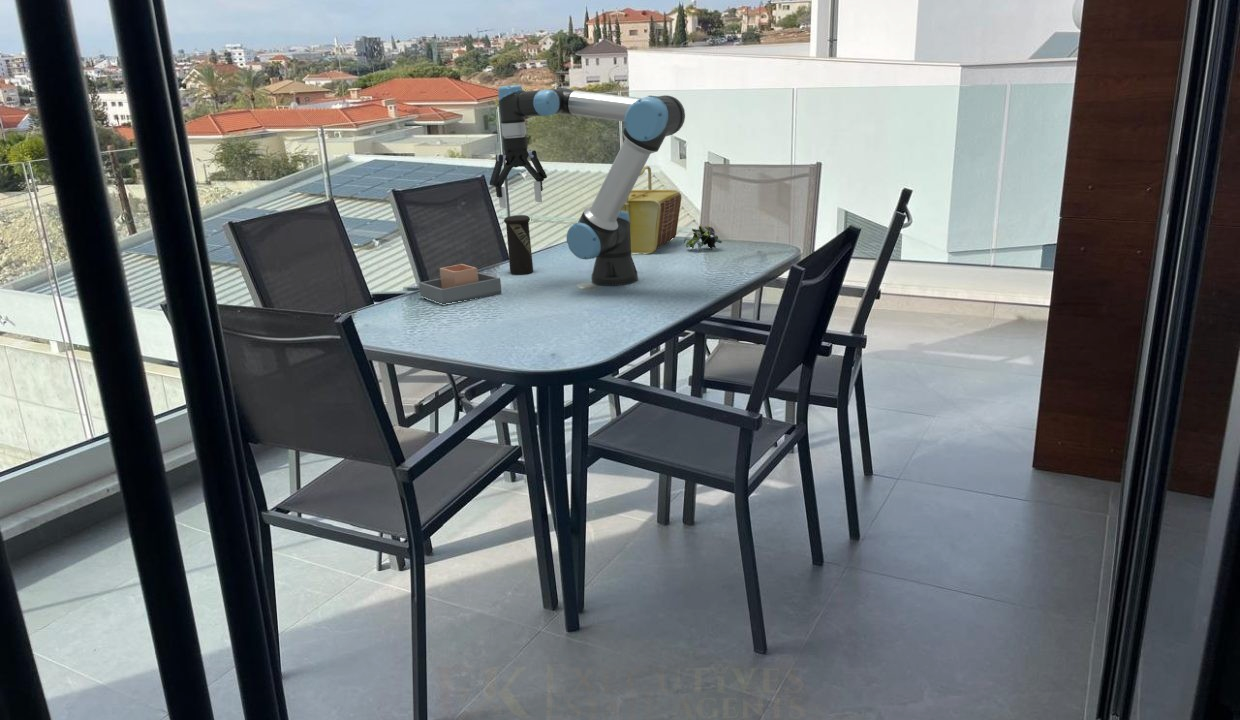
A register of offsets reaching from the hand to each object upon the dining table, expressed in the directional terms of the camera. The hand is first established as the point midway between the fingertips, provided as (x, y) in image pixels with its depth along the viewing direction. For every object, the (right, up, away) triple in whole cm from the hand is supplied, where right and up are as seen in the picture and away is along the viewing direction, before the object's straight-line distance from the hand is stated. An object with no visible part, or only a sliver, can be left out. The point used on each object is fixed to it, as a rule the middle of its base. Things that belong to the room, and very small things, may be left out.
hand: (521, 204), depth 292 cm
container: (-3, -19, +28) cm, 34 cm away
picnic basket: (+40, -7, +60) cm, 73 cm away
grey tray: (-19, -29, -2) cm, 35 cm away
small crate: (-19, -28, -2) cm, 34 cm away
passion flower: (+62, -9, +48) cm, 79 cm away
